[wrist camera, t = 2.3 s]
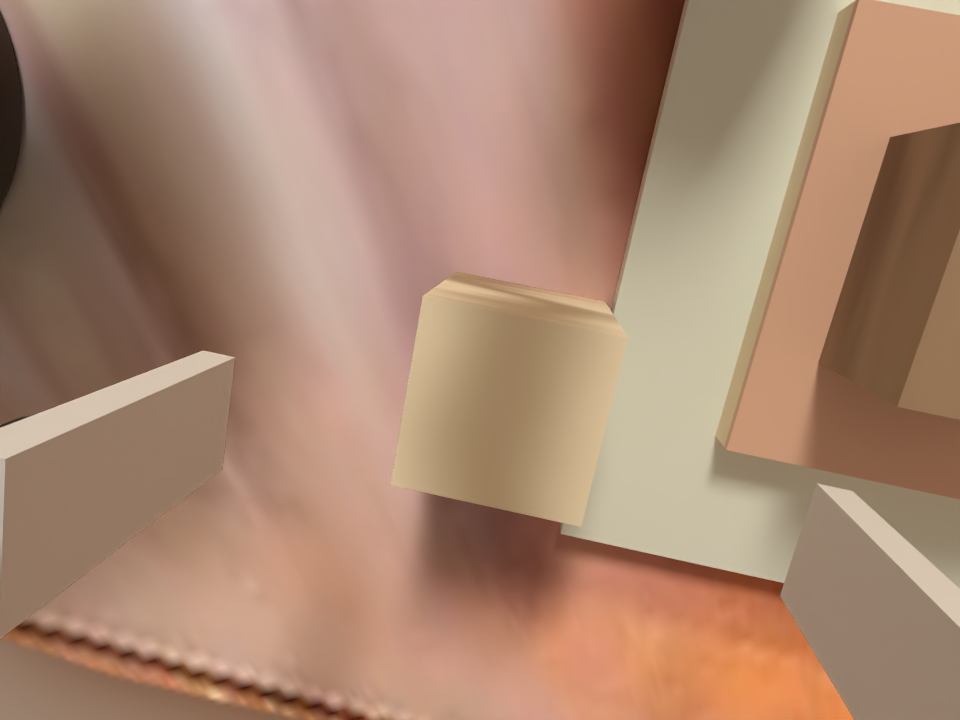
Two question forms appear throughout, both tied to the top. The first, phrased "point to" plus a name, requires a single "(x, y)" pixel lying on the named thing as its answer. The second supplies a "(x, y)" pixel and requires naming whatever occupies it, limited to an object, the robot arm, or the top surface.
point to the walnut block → (906, 280)
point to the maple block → (508, 397)
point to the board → (769, 288)
